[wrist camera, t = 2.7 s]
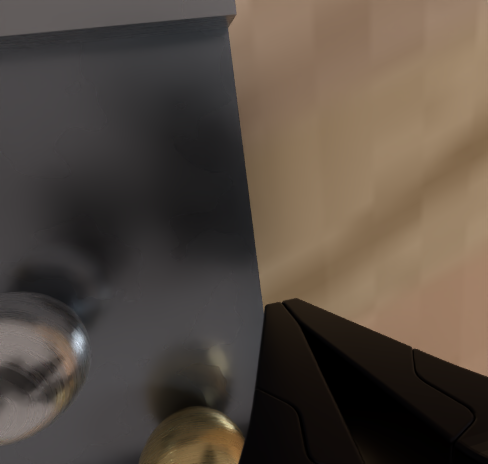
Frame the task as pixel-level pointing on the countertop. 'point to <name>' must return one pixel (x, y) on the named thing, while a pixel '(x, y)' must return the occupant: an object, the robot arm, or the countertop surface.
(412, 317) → the countertop surface
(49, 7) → the tray
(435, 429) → the robot arm
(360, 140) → the countertop surface
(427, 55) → the countertop surface
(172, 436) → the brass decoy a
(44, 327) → the steel ball
